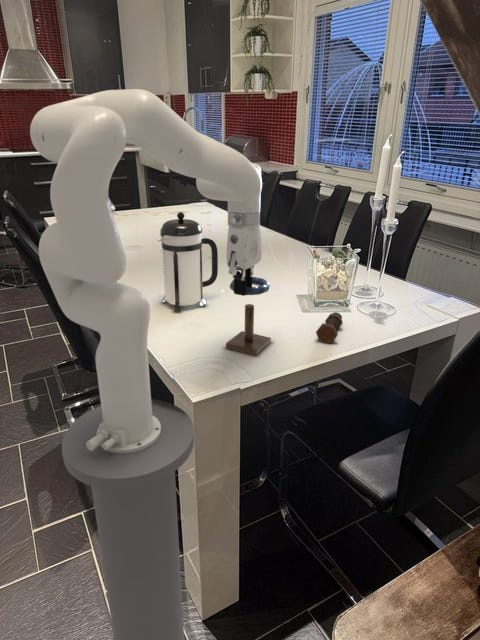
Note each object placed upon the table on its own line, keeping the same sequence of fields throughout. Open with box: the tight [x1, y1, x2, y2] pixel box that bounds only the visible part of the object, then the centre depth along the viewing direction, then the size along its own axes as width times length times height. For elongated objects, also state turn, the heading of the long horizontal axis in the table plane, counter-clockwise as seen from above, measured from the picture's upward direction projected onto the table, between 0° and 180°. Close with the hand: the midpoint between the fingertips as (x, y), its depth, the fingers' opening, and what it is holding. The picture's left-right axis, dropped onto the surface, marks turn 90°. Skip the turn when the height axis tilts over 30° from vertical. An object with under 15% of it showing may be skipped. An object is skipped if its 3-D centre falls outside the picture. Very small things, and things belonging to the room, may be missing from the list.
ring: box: [229, 276, 271, 296], centre depth 119 cm, size 10×10×2 cm
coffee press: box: [157, 211, 219, 313], centre depth 148 cm, size 17×16×30 cm
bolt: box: [315, 311, 344, 344], centre depth 133 cm, size 6×5×15 cm
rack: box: [225, 303, 272, 357], centre depth 123 cm, size 9×9×12 cm
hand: (242, 292), depth 116 cm, fingers closed on ring, 2 cm apart
